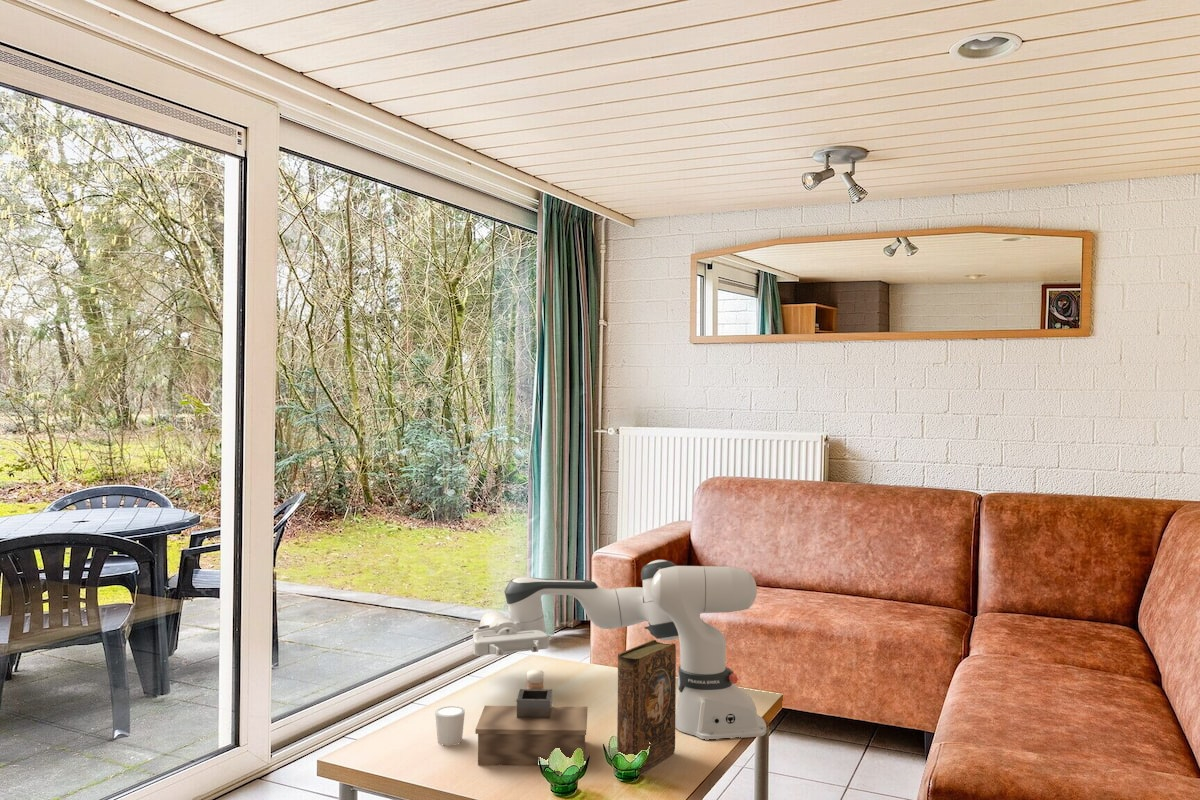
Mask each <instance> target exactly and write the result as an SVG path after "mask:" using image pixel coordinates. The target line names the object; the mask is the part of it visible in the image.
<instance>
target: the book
mask: <svg viewBox="0 0 1200 800" xmlns="http://www.w3.org/2000/svg"><path fill="white" fill-rule="evenodd" d="M676 649H677V647H676V643H663V642H658V641H657V639H652V640H649V641H647V642H644V643H641V644H640V645H637V646H634V647H632V648H630V649H627V650H624V651H623V652H620V653H618V654H617V721H616V722H617V733H616V734H617V735H616V738H617V739H616V742H617V743H616V745H617V747H616V749H617V750H618V752H621V753H623V754H625V755H628V754H634V755H637V754H638V753H639V752H640V751H641V750H647V749H648V747H649V746H650V749H649V755H648V758H647V760H646V762H645V763H644V764H643V765H642V767H641V768H640V771H639V772H640V776H642V775H644V774H645V773H646V772H648V771H650V770H651V769H653V768H655V767H656V766H658V765H659V764H661V763H662V762H664V761H666V760H667V759H669V758H670V757H672V755H674V753H675V751H676V728H675V715H676V708H677V707H676V703H677V702H676V701H677V700H676V699H677V698H676V694H677V693H676V691H677V690H676V689H677V688H676V686H677V685H676V683H677V682H676V680H677V679H676V676H677V675H676V674H677V672H676V665H677V658H676V657H677V650H676ZM649 742H650V743H651V744H649ZM617 750H616V751H617Z"/></svg>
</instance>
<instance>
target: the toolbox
mask: <svg viewBox="0 0 1200 800" xmlns="http://www.w3.org/2000/svg"><path fill="white" fill-rule="evenodd" d="M587 725H588V706H566V705H565V706H557V705H556V706H555V705H553V689H547V688H546V689H545V688H543V689H527V688H524V689H522V688H520V689H519V692H518V695H517V699H516V705H484V707H483V709H482V711H481V714H480V716H479V719H478V722H477V725H476V727H475V735H477V766H515V767H516V766H523V767H524V766H526V767H527V766H529V767H535V766H536V767H537V766H538V757H541V758H543V759H545V760H547V759H548V758H549V756H550V754H551V752H552V751H553V750H554V749H555V748H560V750H561V752H562V753H563V754H564V755H565V756H566V757H569V758H571V757H572V755H573V753H574V751H575V750H576V749H577V748H581V749H582V751H583V754H584V755H585V749H586V748H585V747H586V736H587Z"/></svg>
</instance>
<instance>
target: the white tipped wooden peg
mask: <svg viewBox="0 0 1200 800" xmlns="http://www.w3.org/2000/svg"><path fill="white" fill-rule="evenodd" d="M544 674H545V673H544V670H541V669H531V670H528V671H527V672H526V689H544Z"/></svg>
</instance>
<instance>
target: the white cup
mask: <svg viewBox="0 0 1200 800" xmlns="http://www.w3.org/2000/svg"><path fill="white" fill-rule="evenodd" d="M434 713H435V725H436V737H437V743H438V744H439V743H440V744H443V745H442V746H444V745H452V746H455V745H454V744H457V745H459V744H461V743H462V741H463V734H464V723H465V713H466V711H465V709H464V708H463V707H460V706H456V705H455V706H452V705H451V706H442V707H439V708H438V709H436V710H435V712H434ZM460 742H461V743H460ZM458 743H459V744H458ZM440 744H439V745H440Z"/></svg>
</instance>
